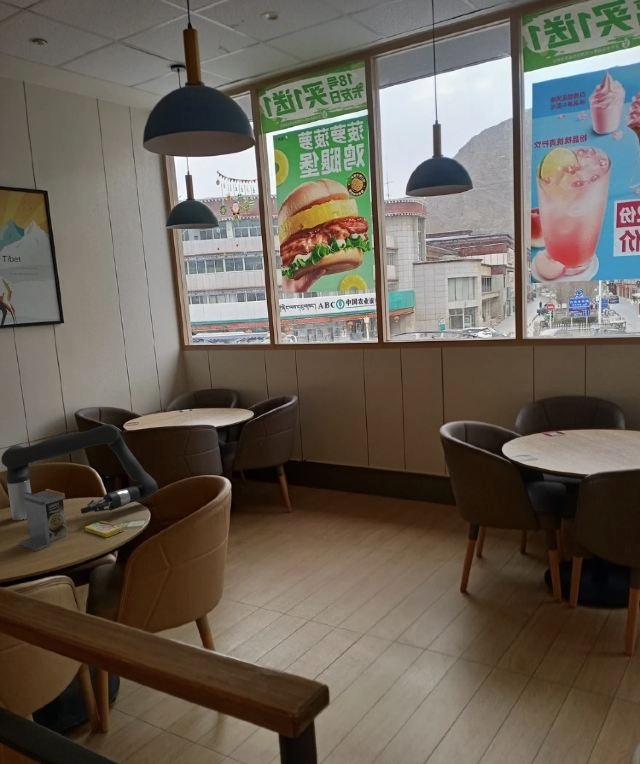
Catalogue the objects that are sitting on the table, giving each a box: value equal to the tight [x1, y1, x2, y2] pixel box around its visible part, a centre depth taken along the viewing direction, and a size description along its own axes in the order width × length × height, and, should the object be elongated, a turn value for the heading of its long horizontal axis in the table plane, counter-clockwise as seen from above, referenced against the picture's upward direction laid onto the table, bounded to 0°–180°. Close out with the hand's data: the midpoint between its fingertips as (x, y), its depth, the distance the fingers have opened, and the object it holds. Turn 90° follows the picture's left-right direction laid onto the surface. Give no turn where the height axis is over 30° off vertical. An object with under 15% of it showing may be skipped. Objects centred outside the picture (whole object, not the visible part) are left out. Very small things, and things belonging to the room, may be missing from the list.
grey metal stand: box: [17, 488, 66, 552], centre depth 250 cm, size 14×15×20 cm
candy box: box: [84, 520, 125, 538], centre depth 257 cm, size 16×2×8 cm
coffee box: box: [45, 499, 68, 542], centre depth 253 cm, size 9×6×16 cm
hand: (81, 511), depth 263 cm, fingers closed
